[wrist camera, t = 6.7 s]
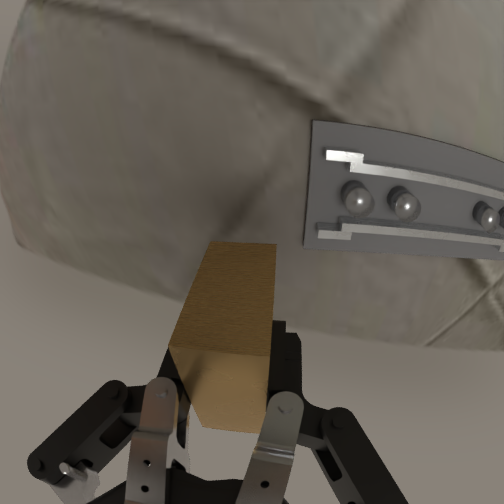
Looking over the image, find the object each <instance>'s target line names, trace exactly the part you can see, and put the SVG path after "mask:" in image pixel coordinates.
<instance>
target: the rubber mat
mask: <svg viewBox="0 0 504 504" xmlns="http://www.w3.org/2000/svg"><path fill="white" fill-rule="evenodd" d="M324 146H326V147H337V148H346V149H354V150H359V151H361V152H362V153H363V154H364V157H363V160H369V161H376V162H383V163H390V164H396V165H402V166H408V167H414V168H419V169H424V170H429V171H434V172H439V173H443V174H448V175H452V176H456V177H461V178H465V179H469V180H472V181H476V182H480V183H483V184H487V185H490V186H494V187H497V188H500V189H504V162H501V161H499V160H496V159H494V158H491V157H488V156H485V155H483V154H480V153H477V152H474V151H471V150H468V149H465V148H461V147H458V146H455V145H451V144H448V143H444V142H441V141H437V140H433V139H429V138H425V137H421V136H416V135H412V134H407V133H403V132H398V131H393V130H387V129H382V128H376V127H370V126H363V125H356V124H349V123H341V122H332V121H322V120H312V134H311V153H310V169H309V183H308V196H307V208H306V219H305V230H304V240H303V249H318V250H337V251H355V252H373V253H391V254H408V255H425V256H442V257H458V258H474V259H490V260H504V252H499V251H498V250H497V249H496V248H495V247H494V246H493V245H491V244H482V243H472V242H463V241H453V240H443V239H432V238H421V237H409V236H397V235H384V234H371V233H357V232H352V235H351V240H341V239H324V238H318V237H317V232H316V227H317V222H321V223H337V224H338V222H339V216H350V217H353V216H351V215H350V214H349V212H348V210H347V208H346V206H345V204H344V202H343V200H342V198H341V194H340V193H341V188H342V187H343V185H344V184H345V183H346V182H348V181H351V180H357V181H360V182H362V183H363V184H364V186H365V187H366V188H367V189H368V191H369V192H370V193H371V195H372V196H373V198H374V200H375V206H374V209H373V211H372V213H371V214H370V215H368V216H367V217H364V218H374V219H385V220H396V221H401V220H400V219H399V218H398V216H397V215H396V214H395V213H394V211H393V210H392V209H391V207H390V206H389V205H388V202H387V196H388V193H389V191H390V190H391V189H392V188H393V187H395V186H404V187H405V188H407V189H408V190H409V191H410V192H411V193H412V194H413V195H414V196H415V197H416V198H417V199H418V200H419V201H420V203H421V212H420V215H419V216H418V218H417V219H415V220H414V221H412V222H415V223H424V224H433V225H441V226H449V227H457V228H465V229H472V230H479V231H486V230H485V229H484V228H483V227H482V226H481V225H479V224H478V223H477V222H476V221H475V220H474V219H473V216H472V212H473V208H474V206H475V205H476V203H478V202H479V201H484V202H486V203H487V204H488V205H489V206H490V207H492V208H493V209H494V210H495V211H497V212H499V210H500V209H501V208H502V207H504V200H502V199H498V198H494V197H490V196H486V195H482V194H478V193H474V192H470V191H466V190H461V189H456V188H452V187H447V186H442V185H437V184H431V183H426V182H420V181H414V180H408V179H402V178H395V177H388V176H381V175H373V174H365V173H356V172H349V170H348V169H347V168H346V162H344V161H334V160H326V159H325V157H324V156H323V154H324ZM486 232H487V231H486ZM493 233H499V234H502V235H503V236H504V229H503V228H502V227H501V226H500V225H498V227H497V229H496V230H495V231H494V232H493Z"/></svg>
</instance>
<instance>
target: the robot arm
mask: <svg viewBox="0 0 504 504" xmlns="http://www.w3.org/2000/svg"><path fill="white" fill-rule="evenodd" d="M301 361H302V355H301V341H300V339H299V337H298V335H297V333H286V321H276V320H272V334H271V349H270V363H269V376H268V388H267V400H266V414H265V417H264V421H263V424H262V428H261V431H260V435H259V438H258V441H257V444H256V446H255V448H254V451H253V453H252V456H251V459H250V462H249V465H248V468H247V472H246V475H245V477H244V480H238V479H228V480H215V481H206V480H203V479H201V478H199V477H196V476H194V475H192V474H190V458H189V453H188V434H189V433H188V432H189V409H190V405H191V401H190V399H189V396H188V394H187V392H186V390H185V387H184V385H183V383H182V380H181V378H180V375H179V373H178V370H177V368H176V365H175V363H174V360H173V358H172V355H171V353H170V350H169V347H168V349H167V351H166V354H165V357H164V359H163V362H162V365H161V367H160V370H159V373H158V375H157V377H156V378H154V379H152V380H151V381H150V382H149V383H148V384H147V385H143V386H131V387H127V386H126V385H125V384H124V383H123V382H121V381H118V380H112V381H108V382H107V383H105V384H104V385H103V386H102V387H101V388H100V389H99V390H98V391H97V392H96V393H94V394H93V396H91V397H90V398H89V399H88V400H87V401H86V402H85V403H84V404H83V405H82V406H81V407H80V408H79V409H77V410H76V411H75V412H74V413H73V414H72V415H71V416H70V417H69V418H68V419H67V420H66V421H65V422H64V423H63V424H62V425H61V426H59V427H58V429H56V430H55V431H54V432H53V433H52V434H51V435H50V436H49V437H48V438H47V439H46V440H45V441H44V442H43V443H42V444H41V445H39V446H38V447H37V448H36V449H35V450H34V451H33V452H32V453H31V454H30V455H29V457H28V460H27V465H28V469H29V472H30V473H31V474H32V476H34V477H35V478H37V479H39V480H42V481H44V482H45V483H47V484H49V485H50V486H51V488H52V489H53V490H54V492H55V493H56V494H57V495H58V497H59V498H60V499H61V500H62V501H63V503H64V504H289V503H288V502H287V501H286V500H285V498H284V494H285V491H286V487H287V483H288V480H289V476H290V472H291V468H292V464H293V460H294V451H295V447H296V444H299V445H302V446H305V447H308V448H311V450H312V452H313V454H314V455H315V457H316V459H317V461H318V463H319V465H320V467H321V469H322V471H323V473H324V475H325V476H326V478H327V480H328V482H329V484H330V486H331V487H332V489H333V491H334V493H335V495H336V497H337V498H338V500H339V502H340V504H408V502H407V500H406V499H405V497H404V495H403V494H402V492H401V491H400V489H399V487H398V486H397V484H396V482H395V481H394V479H393V478H392V476H391V474H390V473H389V471H388V470H387V468H386V466H385V465H384V463H383V462H382V460H381V458H380V457H379V455H378V453H377V452H376V450H375V449H374V447H373V445H372V444H371V442H370V440H369V439H368V437H367V436H366V434H365V433H364V431H363V429H362V428H361V426H360V424H359V423H358V421H357V419H356V418H355V416H354V415H353V413H352V412H351V411H349V410H348V409H346V408H342V407H336V408H332V409H330V410H326V409H323V408H319V407H316V406H313V405H312V404H310V403H309V402H308V401H307V400H306V399H305V398H304V396H303V394H302V362H301ZM130 440H131V446H130V453H129V462H128V471H127V480H126V481H124V482H123V483H121V484H119V485H118V486H116V487H114V488H113V489H111V490H109V491H108V492H106V493H104V494H103V495H101V496H99V497H97V498H95V497H94V493H95V490H96V488H97V487H98V486H99V485H100V480H99V476H98V473H99V472H100V471H101V470H102V469H103V468H104V467H105V466H106V465H107V464H108V463H109V462H110V461H111V460H112V459H113V458H114V457H115V456H116V455H117V454H118V453H119V452H120V451H121V450H122V449H123V448H124V447H125V446H126V445H127V443H128V442H129V441H130ZM149 464H151V465H150V466H149ZM148 466H149V467H148Z"/></svg>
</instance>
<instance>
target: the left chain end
mask: <svg viewBox="0 0 504 504" xmlns="http://www.w3.org/2000/svg"><path fill="white" fill-rule="evenodd" d="M323 156H324V157H325V159H326V160H334V161H344V162H346V168H347V169H348V170H349V172H356V173H365V174H373V175H381V176H388V177H395V178H402V179H408V180H414V181H420V182H426V183H431V184H437V185H442V186H447V187H452V188H456V189H457V187H458V183H459V180H457V179H456V178H454V177H453V176H451V175H448V174H443V173H439V172H434V171H429V170H424V169H419V168H414V167H408V166H402V165H396V164H390V163H383V162H376V161H369V160H363V157H364V154H363V153H362V152H361V151H359V150H354V149H346V148H337V147H326V146H324V154H323ZM340 194H341V198H342V200H343V202H344V204H345V206H346V208H347V210H348V212H349V214H350V215H351V216H353V217H350V216H339V222H338V224H337V223H321V222H317V227H316V232H317V237H318V238H324V239H341V240H351V235H352V232H357V233H371V234H384V235H397V236H409V237H421V238H432V239H443V237H444V234H445V232H444V231H443V230H442V229H441V227H440V226H439V225H433V224H424V223H415V222H412V221H414V220H415V219H417V218H418V216H419V215H420V212H421V203H420V201H419V200H418V199H417V198H416V197H415V196H414V195H413V194H412V193H411V192H410V191H409V190H408V189H407V188H405V187H404V186H395V187H393V188H392V189H391V190H390V191H389V193H388V196H387V202H388V205H389V206H390V207H391V209H392V210H393V211H394V213H395V214H396V215H397V216H398V218H399V219H400V220H401V221H396V220H385V219H374V218H364V217H367V216H368V215H370V214H371V213H372V211H373V209H374V206H375V200H374V198H373V196H372V195H371V193H370V192H369V191H368V189H367V188H366V187H365V186H364V184H363V183H362V182H360V181H357V180H351V181H348V182H346V183H345V184H344V185H343V187H342V188H341V193H340Z"/></svg>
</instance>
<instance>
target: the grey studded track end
mask: <svg viewBox="0 0 504 504" xmlns="http://www.w3.org/2000/svg"><path fill="white" fill-rule="evenodd" d="M451 176H452V175H451ZM453 177H454V178H456V179H457V180H459V183H458V187H457V189H461V190H466V191H470V192H474V193H478V194H482V195H486V196H490V197H494V198H498V199H502V200H504V189H500V188H497V187H494V186H490V185H487V184H483V183H480V182H476V181H472V180H469V179H465V178H461V177H456V176H453ZM472 216H473V219H474V220H475V221H476V222H477V223H478V224H479V225H481V226H482V227H483V228H484V229H485V230H486V231H487V232H486V231H479V230H472V229H465V228H457V227H449V226H441V225H439V226H440V227H441V229H442V230H443V231H444V232H445V234H444V237H443V240H453V241H463V242H472V243H482V244H491V245H493V246H494V247H495V248H496V249H497V250H498V251H499V252H504V236H503V235H502V234H499V233H493V232H494V231H495V230H496V229H497V227H498V225H500V226H501V227H502V228H503V229H504V207H502V208H501V209H500V210H499V212H497V211H495V210H494V209H493V208H492V207H490V206H489V205H488V204H487V203H486V202H484V201H479V202H478V203H476V205H475V206H474V208H473V212H472Z"/></svg>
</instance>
